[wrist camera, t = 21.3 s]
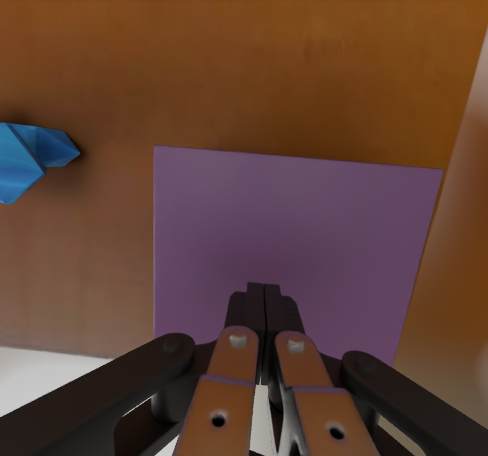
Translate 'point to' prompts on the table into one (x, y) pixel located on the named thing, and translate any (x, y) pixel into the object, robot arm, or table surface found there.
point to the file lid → (289, 242)
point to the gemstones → (29, 157)
